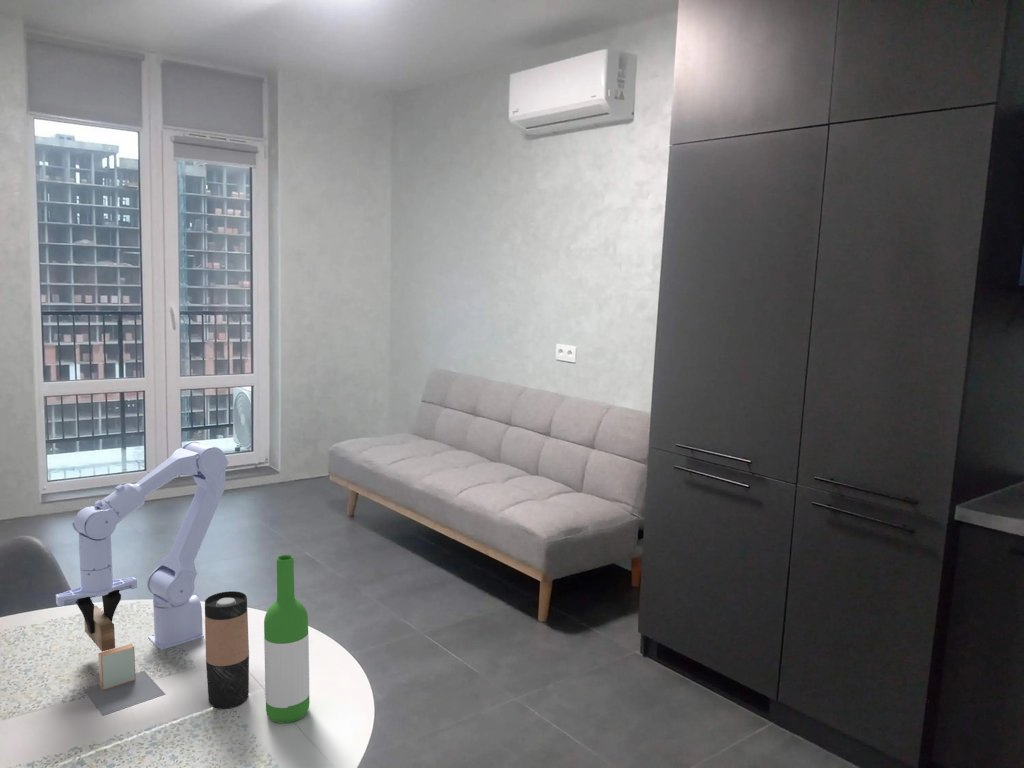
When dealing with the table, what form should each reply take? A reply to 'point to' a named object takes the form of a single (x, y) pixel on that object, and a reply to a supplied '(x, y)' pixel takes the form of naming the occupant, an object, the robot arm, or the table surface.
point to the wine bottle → (286, 650)
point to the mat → (124, 694)
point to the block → (117, 667)
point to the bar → (102, 631)
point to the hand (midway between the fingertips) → (99, 629)
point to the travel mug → (227, 649)
